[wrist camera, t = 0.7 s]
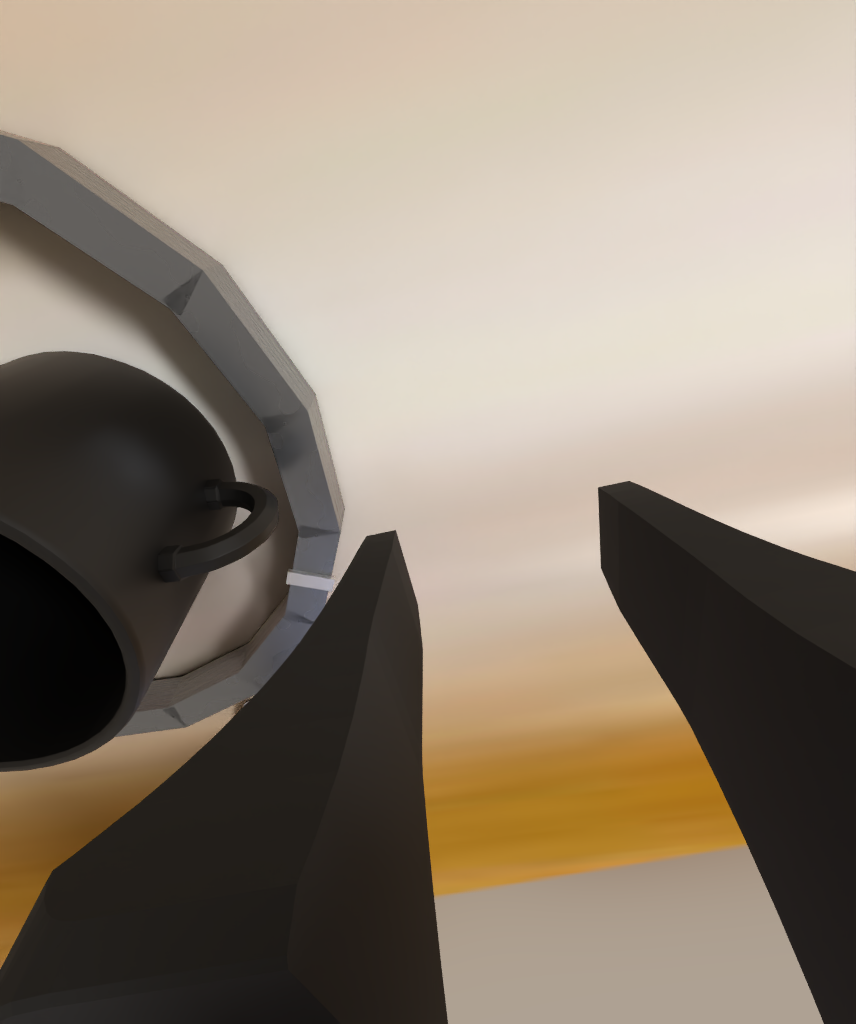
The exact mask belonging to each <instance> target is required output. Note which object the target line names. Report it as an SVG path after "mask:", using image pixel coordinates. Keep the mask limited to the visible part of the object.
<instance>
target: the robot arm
mask: <svg viewBox="0 0 856 1024" xmlns="http://www.w3.org/2000/svg"><path fill="white" fill-rule="evenodd" d="M598 496H599V524H600V552H601V569H602V571H603V574H604V576H605V578H606V581H607V583H608V585H609V588H610V590H611V592H612V594H613V596H614V599H615V601H616V603H617V605H618V607H619V609H620V611H621V613H622V614H623V616H624V618H625V619H626V621H627V623H628V624H629V626H630V628H631V629H632V631H633V632H634V634H635V636H636V637H637V639H638V641H639V642H640V644H641V645H642V647H643V649H644V650H645V652H646V653H647V655H648V657H649V658H650V660H651V661H652V663H653V665H654V666H655V668H656V669H657V671H658V673H659V674H660V676H661V678H662V679H663V681H664V682H665V684H666V686H667V687H668V689H669V690H670V692H671V694H672V695H673V697H674V698H675V700H676V702H677V703H678V705H679V707H680V708H681V710H682V712H683V714H684V715H685V717H686V719H687V721H688V723H689V724H690V726H691V728H692V730H693V732H694V734H695V736H696V738H697V740H698V742H699V744H700V746H701V748H702V750H703V752H704V754H705V756H706V758H707V760H708V762H709V764H710V766H711V768H712V770H713V773H714V775H715V777H716V779H717V781H718V783H719V785H720V787H721V789H722V791H723V793H724V796H725V798H726V800H727V802H728V804H729V806H730V808H731V810H732V813H733V815H734V817H735V819H736V821H737V823H738V825H739V828H740V830H741V832H742V834H743V836H744V838H745V840H746V843H747V845H748V847H749V849H750V852H751V854H752V856H753V858H754V860H755V863H756V865H757V867H758V870H759V872H760V874H761V876H762V878H763V881H764V883H765V885H766V887H767V890H768V892H769V894H770V896H771V899H772V901H773V903H774V905H775V908H776V910H777V912H778V915H779V917H780V919H781V922H782V924H783V926H784V929H785V931H786V933H787V936H788V938H789V941H790V943H791V945H792V948H793V950H794V952H795V955H796V957H797V960H798V962H799V964H800V967H801V969H802V971H803V974H804V976H805V979H806V981H807V983H808V986H809V988H810V990H811V993H812V995H813V998H814V1000H815V1003H816V1005H817V1008H818V1010H819V1012H820V1015H821V1017H822V1020H823V1022H824V1024H856V572H855V571H852V570H849V569H846V568H842V567H839V566H836V565H833V564H830V563H827V562H824V561H820V560H817V559H814V558H811V557H808V556H805V555H802V554H799V553H797V552H794V551H791V550H788V549H785V548H783V547H780V546H778V545H775V544H772V543H770V542H767V541H765V540H762V539H760V538H757V537H754V536H752V535H749V534H747V533H744V532H742V531H740V530H737V529H735V528H732V527H730V526H728V525H725V524H723V523H721V522H719V521H716V520H714V519H712V518H710V517H707V516H705V515H703V514H701V513H698V512H696V511H694V510H692V509H690V508H688V507H685V506H683V505H681V504H679V503H677V502H675V501H673V500H671V499H669V498H666V497H664V496H662V495H660V494H658V493H656V492H654V491H651V490H649V489H647V488H645V487H643V486H640V485H638V484H636V483H633V482H630V481H627V482H622V483H617V484H613V485H608V486H603V487H598ZM422 689H423V647H422V637H421V628H420V619H419V611H418V604H417V601H416V597H415V594H414V590H413V587H412V584H411V580H410V577H409V573H408V570H407V567H406V563H405V560H404V557H403V553H402V550H401V546H400V543H399V540H398V536H397V533H396V530H394V531H389V532H385V533H380V534H375V535H370V536H367V537H366V538H365V540H364V541H363V543H362V544H361V546H360V548H359V550H358V551H357V553H356V555H355V557H354V558H353V560H352V562H351V564H350V565H349V567H348V569H347V571H346V572H345V574H344V576H343V577H342V579H341V581H340V582H339V584H338V586H337V587H336V589H335V590H334V592H333V594H332V595H331V597H330V598H329V600H328V602H327V603H326V605H325V606H324V608H323V609H322V611H321V613H320V614H319V615H318V617H317V618H316V620H315V621H314V622H313V624H312V625H311V627H310V628H309V630H308V631H307V632H306V634H305V635H304V637H303V638H302V640H301V641H300V642H299V644H298V645H297V646H296V648H295V649H294V650H293V652H292V653H291V654H290V655H289V657H288V658H287V659H286V660H285V661H284V663H283V664H282V665H281V666H280V667H279V669H278V670H277V671H276V672H275V673H274V674H273V676H272V677H271V678H270V679H269V680H268V681H267V683H266V684H265V685H264V686H263V687H262V688H261V689H260V690H259V691H258V693H257V694H256V695H255V696H254V697H253V698H252V699H251V700H250V701H248V702H246V703H245V704H244V705H243V708H242V709H241V710H240V711H239V712H238V713H237V714H236V715H235V716H234V717H233V718H232V719H231V720H230V721H229V722H228V723H227V724H226V725H225V726H224V727H223V728H222V729H221V730H220V731H219V732H218V733H217V734H216V735H215V736H214V737H213V738H212V739H211V740H210V741H209V742H208V743H207V744H206V745H205V746H204V747H203V748H202V749H200V750H199V751H198V752H197V753H196V754H195V755H194V756H193V757H192V758H191V759H190V760H189V761H187V762H186V763H185V764H184V765H183V766H182V767H181V768H180V769H178V770H177V771H176V772H175V773H174V774H173V775H172V776H170V777H169V778H168V779H167V780H166V781H165V782H164V783H162V784H161V785H160V786H159V787H158V788H157V789H155V790H154V791H153V792H152V793H151V794H149V795H148V796H147V797H146V798H145V799H144V800H142V801H141V802H140V803H139V804H138V805H136V806H135V807H134V808H133V809H131V810H130V811H129V812H127V813H126V814H125V815H124V816H122V817H121V818H120V819H119V820H117V821H116V822H115V823H114V824H112V825H111V826H110V827H108V828H107V829H106V830H105V831H103V832H102V833H101V834H100V835H98V836H97V837H96V838H95V839H93V840H92V841H91V842H89V843H88V844H87V845H86V846H84V847H83V848H82V849H81V850H79V851H78V852H77V853H75V854H74V855H73V856H72V857H70V858H69V859H68V860H66V861H65V862H64V863H62V864H61V865H60V866H58V867H57V868H56V869H54V870H53V871H52V873H51V875H50V877H49V878H48V880H47V882H46V884H45V886H44V887H43V889H42V891H41V893H40V895H39V897H38V899H37V901H36V903H35V905H34V906H33V908H32V910H31V912H30V914H29V916H28V918H27V920H26V922H25V924H24V925H23V927H22V929H21V931H20V933H19V935H18V937H17V939H16V941H15V943H14V945H13V946H12V948H11V950H10V952H9V954H8V956H7V958H6V960H5V962H4V964H3V966H2V967H1V969H0V1024H448V1020H447V1012H446V1003H445V994H444V986H443V977H442V969H441V960H440V950H439V941H438V931H437V922H436V912H435V903H434V893H433V883H432V873H431V862H430V852H429V841H428V831H427V819H426V808H425V796H424V784H423V768H422Z"/></svg>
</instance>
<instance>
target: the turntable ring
mask: <svg viewBox="0 0 856 1024" xmlns="http://www.w3.org/2000/svg"><path fill="white" fill-rule="evenodd" d="M0 202H3V203H7V204H10V205H13V206H15V207H16V208H18V209H19V210H21V211H22V212H24V213H25V214H27V215H29V216H30V217H32V218H33V219H35V220H36V221H38V222H39V223H41V224H42V225H44V226H45V227H47V228H48V229H50V230H51V231H53V232H54V233H56V234H57V235H59V236H60V237H62V238H63V239H65V240H66V241H68V242H69V243H71V244H72V245H74V246H75V247H77V248H79V249H80V250H82V251H83V252H85V253H86V254H88V255H89V256H91V257H92V258H94V259H95V260H97V261H98V262H100V263H101V264H103V265H104V266H106V267H107V268H109V269H110V270H112V271H113V272H115V273H116V274H118V275H119V276H121V277H122V278H124V279H125V280H127V281H129V282H130V283H132V284H133V285H135V286H136V287H138V288H139V289H141V290H142V291H144V292H145V293H147V294H148V295H150V296H151V297H153V298H154V299H156V300H157V301H159V302H160V303H162V304H163V305H165V306H166V307H168V308H169V309H171V311H172V312H173V313H174V314H175V315H176V317H177V318H178V319H179V320H180V322H181V323H182V324H183V325H184V327H185V328H186V329H187V330H188V332H189V333H190V334H191V335H192V337H193V338H194V339H195V340H196V342H197V343H198V344H199V345H200V346H201V348H202V349H203V350H204V351H205V353H206V354H207V355H208V356H209V358H210V359H211V360H212V361H213V363H214V364H215V365H216V366H217V368H218V369H219V370H220V371H221V372H222V374H223V375H224V376H225V377H226V379H227V380H228V381H229V382H230V384H231V385H232V386H233V387H234V389H235V390H236V391H237V392H238V394H239V395H240V396H241V397H242V399H243V400H244V401H245V402H246V403H247V405H248V406H249V407H250V408H251V410H252V411H253V412H254V413H255V415H256V416H257V417H258V418H259V420H260V421H261V422H262V423H263V425H264V426H265V428H266V431H267V434H268V437H269V440H270V443H271V447H272V450H273V453H274V456H275V459H276V462H277V465H278V468H279V472H280V475H281V478H282V481H283V484H284V487H285V490H286V493H287V496H288V500H289V503H290V506H291V509H292V512H293V515H294V518H295V521H296V525H297V528H298V531H299V534H298V540H297V546H296V552H295V558H294V565H293V569H289V570H288V574H287V580H286V584H290V589H289V592H288V594H287V595H286V596H285V598H284V599H283V600H282V601H281V603H280V604H279V605H278V606H277V608H276V609H275V610H274V612H273V613H272V614H271V615H270V617H269V618H268V619H267V620H266V622H265V623H264V624H263V625H262V627H261V628H260V629H259V631H258V632H257V633H256V634H255V636H254V637H253V638H252V639H251V641H250V642H249V643H248V644H246V645H244V646H242V647H240V648H238V649H236V650H234V651H232V652H230V653H228V654H226V655H224V656H222V657H220V658H218V659H216V660H214V661H212V662H210V663H208V664H206V665H204V666H202V667H200V668H198V669H196V670H194V671H192V672H190V673H188V674H186V675H184V676H182V677H176V678H169V679H162V680H155V681H152V683H151V685H150V687H149V688H148V690H147V692H146V694H145V696H144V698H143V700H142V702H141V704H140V705H139V707H138V709H137V710H136V712H135V714H134V715H133V717H132V718H131V720H130V721H129V722H128V724H127V725H126V726H125V727H124V728H123V729H122V730H121V731H120V732H119V733H118V734H117V735H116V736H115V737H118V736H125V735H132V734H140V733H147V732H154V731H162V730H169V729H177V728H184V727H188V726H190V725H192V724H194V723H196V722H198V721H200V720H203V719H205V718H207V717H209V716H211V715H213V714H215V713H217V712H219V711H221V710H224V709H226V708H228V707H230V706H232V705H234V704H236V703H238V702H240V701H242V700H245V699H247V698H249V697H251V696H253V695H255V694H257V693H258V691H259V690H260V689H261V688H262V687H263V686H264V685H265V684H266V683H267V681H268V680H269V679H270V678H271V677H272V676H273V674H274V673H275V672H276V671H277V670H278V669H279V667H280V666H281V665H282V664H283V663H284V661H285V660H286V659H287V658H288V657H289V655H290V654H291V653H292V652H293V650H294V649H295V648H296V646H297V645H298V644H299V642H300V641H301V640H302V638H303V637H304V635H305V634H306V632H307V631H308V630H309V628H310V627H311V625H312V624H313V622H314V621H315V620H316V618H317V617H318V615H319V614H320V613H321V611H322V609H323V608H324V606H325V603H326V598H327V594H328V591H332V589H333V585H334V580H335V577H334V576H331V575H332V570H333V565H334V561H335V556H336V551H337V547H338V542H339V537H340V533H341V527H342V521H343V516H344V510H345V508H344V504H343V500H342V496H341V492H340V488H339V484H338V481H337V477H336V473H335V469H334V465H333V461H332V457H331V453H330V449H329V445H328V441H327V437H326V433H325V429H324V426H323V422H322V418H321V414H320V410H319V406H318V402H317V398H316V394H315V393H314V391H313V390H312V389H311V387H310V386H309V384H308V383H307V382H306V380H305V379H304V378H303V376H302V375H301V373H300V372H299V371H298V369H297V368H296V366H295V365H294V364H293V362H292V361H291V359H290V358H289V357H288V355H287V354H286V353H285V351H284V350H283V348H282V347H281V346H280V344H279V343H278V341H277V340H276V339H275V337H274V336H273V334H272V333H271V332H270V330H269V329H268V328H267V326H266V325H265V323H264V322H263V321H262V319H261V318H260V316H259V315H258V314H257V312H256V311H255V310H254V308H253V307H252V305H251V304H250V303H249V301H248V300H247V298H246V297H245V296H244V294H243V293H242V291H241V290H240V289H239V287H238V286H237V285H236V283H235V282H234V280H233V279H232V278H231V276H230V275H229V273H228V272H227V271H226V269H225V268H224V266H223V265H222V264H221V263H219V262H218V261H216V260H215V259H214V258H212V257H211V256H209V255H208V254H207V253H205V252H204V251H202V250H201V249H200V248H198V247H197V246H195V245H194V244H193V243H191V242H190V241H189V240H187V239H186V238H184V237H183V236H182V235H180V234H179V233H177V232H176V231H175V230H173V229H172V228H170V227H169V226H168V225H166V224H165V223H164V222H162V221H161V220H159V219H158V218H157V217H155V216H154V215H152V214H151V213H150V212H148V211H147V210H145V209H144V208H143V207H141V206H140V205H139V204H137V203H136V202H134V201H133V200H132V199H130V198H129V197H127V196H126V195H125V194H123V193H122V192H120V191H119V190H118V189H116V188H115V187H114V186H112V185H111V184H109V183H108V182H107V181H105V180H104V179H102V178H101V177H100V176H98V175H97V174H95V173H94V172H93V171H91V170H90V169H89V168H87V167H86V166H84V165H83V164H82V163H80V162H79V161H77V160H76V159H75V158H73V157H72V156H70V155H69V154H68V153H66V152H65V151H64V150H62V149H61V148H59V147H55V146H51V145H48V144H45V143H41V142H38V141H35V140H31V139H28V138H25V137H21V136H18V135H15V134H11V133H8V132H4V131H1V130H0Z"/></svg>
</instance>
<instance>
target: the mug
mask: <svg viewBox="0 0 856 1024" xmlns="http://www.w3.org/2000/svg"><path fill="white" fill-rule="evenodd" d="M237 507H241V508H244V509H247V510H249V511H250V512H251V514H250V515H249V517H248V518H247V519H246V520H245V521H244V522H243V523H241V524H240V525H239V526H237V527H236V528H234V529H233V530H231V529H232V526H233V523H234V520H235V516H236V511H237ZM278 519H279V512H278V501H277V499H276V497H275V496H274V495H273V494H272V493H271V492H270V491H269V490H267V489H265V488H262V487H259V486H256V485H253V484H250V483H245V482H236V478H235V474H234V470H233V466H232V463H231V460H230V458H229V456H228V453H227V451H226V449H225V447H224V445H223V443H222V441H221V440H220V438H219V436H218V435H217V433H216V431H215V430H214V428H213V427H212V426H211V424H210V423H209V422H208V421H207V420H206V418H205V417H204V416H203V415H202V414H201V413H200V412H199V410H198V409H197V408H195V407H194V406H193V405H192V404H191V403H190V402H189V401H188V400H187V399H186V398H185V397H184V396H182V395H181V394H180V393H178V392H177V391H176V390H174V389H173V388H171V387H170V386H169V385H167V384H166V383H164V382H163V381H161V380H159V379H157V378H156V377H154V376H152V375H150V374H148V373H147V372H145V371H143V370H140V369H138V368H135V367H133V366H130V365H128V364H125V363H122V362H119V361H116V360H113V359H109V358H106V357H102V356H98V355H94V354H87V353H79V352H65V351H63V352H43V353H38V354H33V355H28V356H25V357H21V358H19V359H16V360H13V361H11V362H8V363H5V364H3V365H0V772H7V771H23V770H31V769H37V768H43V767H49V766H53V765H57V764H61V763H64V762H68V761H71V760H75V759H77V758H79V757H81V756H84V755H86V754H88V753H90V752H92V751H94V750H96V749H98V748H99V747H101V746H102V745H104V744H105V743H107V742H108V741H110V740H111V739H113V738H114V737H115V736H116V735H117V734H118V733H119V732H120V731H121V730H122V729H123V728H124V727H125V726H126V725H127V724H128V722H129V721H130V720H131V718H132V717H133V715H134V714H135V712H136V710H137V709H138V707H139V705H140V704H141V702H142V700H143V698H144V696H145V694H146V692H147V690H148V688H149V687H150V685H151V683H152V681H153V679H154V677H155V675H156V673H157V671H158V669H159V667H160V665H161V663H162V662H163V660H164V658H165V656H166V654H167V652H168V650H169V648H170V646H171V644H172V642H173V640H174V639H175V637H176V635H177V633H178V631H179V629H180V627H181V625H182V623H183V621H184V619H185V617H186V615H187V614H188V612H189V610H190V608H191V606H192V604H193V602H194V600H195V598H196V596H197V594H198V592H199V591H200V589H201V587H202V585H203V583H204V581H205V579H206V577H207V575H208V573H209V572H210V571H213V570H216V569H219V568H221V567H224V566H226V565H228V564H230V563H232V562H235V561H237V560H239V559H241V558H243V557H244V556H246V555H248V554H249V553H250V552H252V551H253V550H255V549H256V548H257V547H259V546H260V545H261V544H262V543H264V542H265V541H266V540H267V539H268V537H269V536H270V535H271V533H272V532H273V531H274V529H275V527H276V526H277V523H278Z"/></svg>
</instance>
